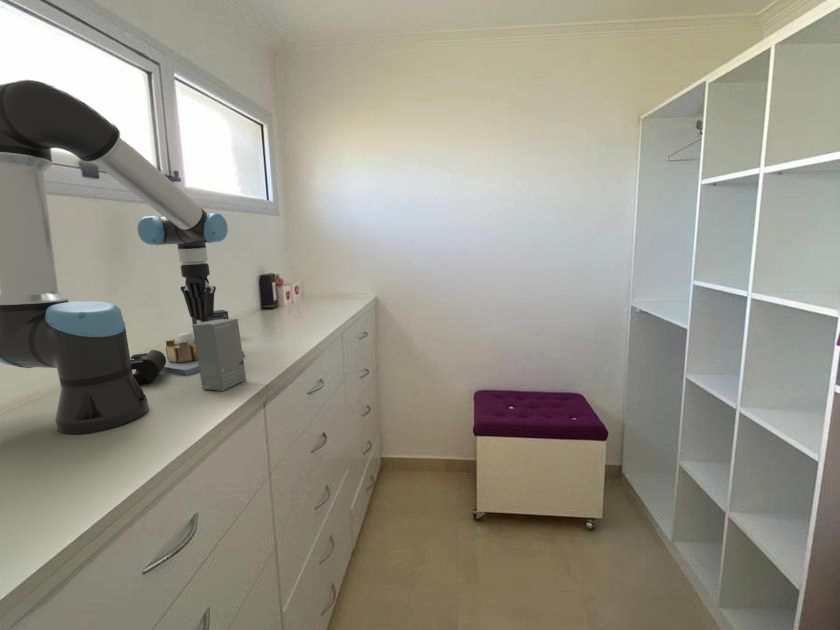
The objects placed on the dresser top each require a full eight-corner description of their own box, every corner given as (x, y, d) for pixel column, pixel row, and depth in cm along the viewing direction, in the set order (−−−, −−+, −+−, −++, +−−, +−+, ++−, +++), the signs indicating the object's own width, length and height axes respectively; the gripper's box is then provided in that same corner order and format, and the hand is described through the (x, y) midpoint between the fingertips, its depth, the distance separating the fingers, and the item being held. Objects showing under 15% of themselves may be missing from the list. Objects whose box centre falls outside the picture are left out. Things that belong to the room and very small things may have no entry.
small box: (226, 337, 157) (223, 308, 155) (232, 340, 152) (228, 310, 150) (194, 343, 150) (190, 313, 149) (199, 346, 145) (195, 315, 144)
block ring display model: (186, 375, 114) (181, 344, 113) (143, 368, 123) (138, 339, 121) (244, 356, 131) (241, 328, 129) (202, 351, 139) (199, 324, 138)
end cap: (161, 383, 109) (156, 357, 108) (128, 388, 107) (123, 361, 106) (168, 372, 118) (164, 348, 117) (138, 376, 116) (133, 351, 115)
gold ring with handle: (184, 363, 119) (181, 344, 118) (160, 360, 124) (157, 341, 123) (232, 348, 133) (230, 331, 132) (209, 345, 138) (207, 329, 137)
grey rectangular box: (223, 392, 101) (214, 324, 98) (199, 389, 103) (189, 324, 100) (248, 380, 109) (240, 317, 106) (225, 378, 111) (217, 316, 108)
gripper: (220, 262, 131) (230, 338, 136) (191, 262, 137) (201, 335, 141) (198, 264, 125) (209, 344, 129) (168, 264, 130) (180, 341, 135)
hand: (205, 340), depth 135 cm, fingers closed
